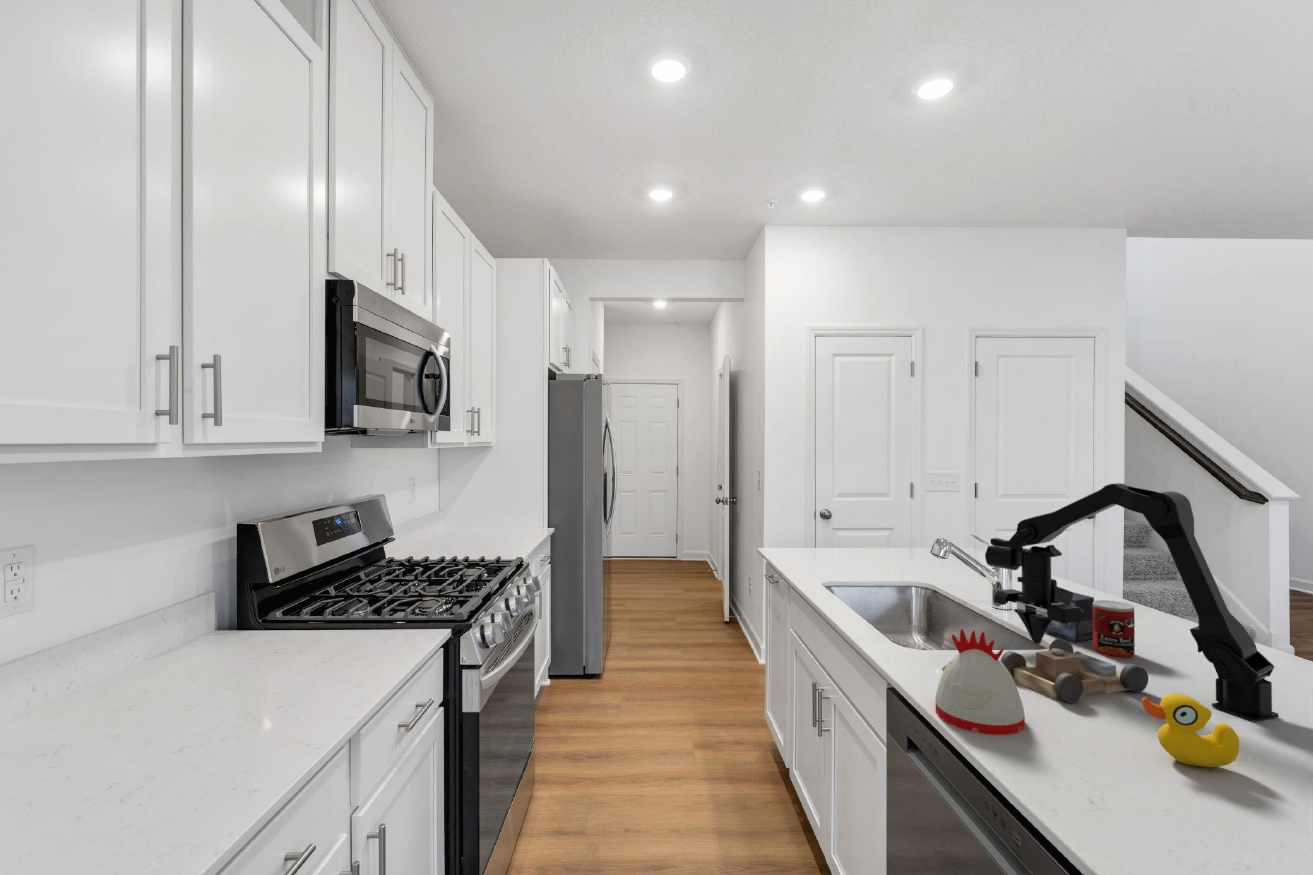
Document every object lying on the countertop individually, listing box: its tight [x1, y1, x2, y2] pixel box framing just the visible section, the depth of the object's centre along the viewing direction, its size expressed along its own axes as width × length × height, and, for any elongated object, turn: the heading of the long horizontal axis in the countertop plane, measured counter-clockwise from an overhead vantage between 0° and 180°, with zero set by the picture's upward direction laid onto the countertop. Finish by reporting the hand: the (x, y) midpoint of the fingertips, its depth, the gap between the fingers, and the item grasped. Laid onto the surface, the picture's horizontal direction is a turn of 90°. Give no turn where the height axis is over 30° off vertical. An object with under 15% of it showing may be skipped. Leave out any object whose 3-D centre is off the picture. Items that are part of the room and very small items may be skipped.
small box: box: [1041, 591, 1095, 644], centre depth 154 cm, size 11×6×10 cm, turn 17°
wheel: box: [1048, 638, 1075, 654], centre depth 135 cm, size 2×5×5 cm, turn 106°
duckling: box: [1141, 693, 1240, 768], centre depth 93 cm, size 11×5×10 cm, turn 66°
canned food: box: [1092, 599, 1136, 659], centre depth 141 cm, size 8×8×11 cm
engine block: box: [1035, 648, 1080, 683], centre depth 122 cm, size 4×6×7 cm
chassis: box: [1000, 650, 1149, 704], centre depth 123 cm, size 14×21×5 cm
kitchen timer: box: [935, 628, 1026, 736], centre depth 109 cm, size 14×14×15 cm
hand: (1037, 643), depth 140 cm, fingers closed
